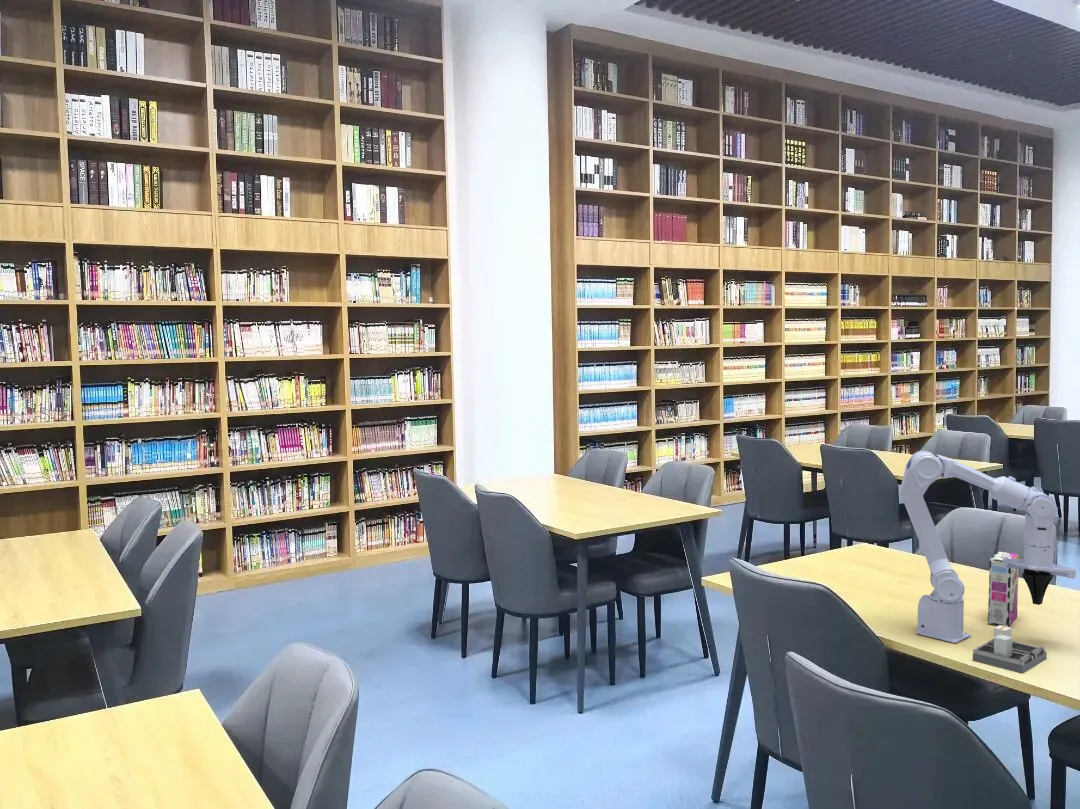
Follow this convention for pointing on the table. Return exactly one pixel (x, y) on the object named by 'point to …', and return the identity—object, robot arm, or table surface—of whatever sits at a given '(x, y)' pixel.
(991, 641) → the grey divided tray
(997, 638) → the block
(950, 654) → the table surface
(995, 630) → the fader
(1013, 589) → the candy bar box
